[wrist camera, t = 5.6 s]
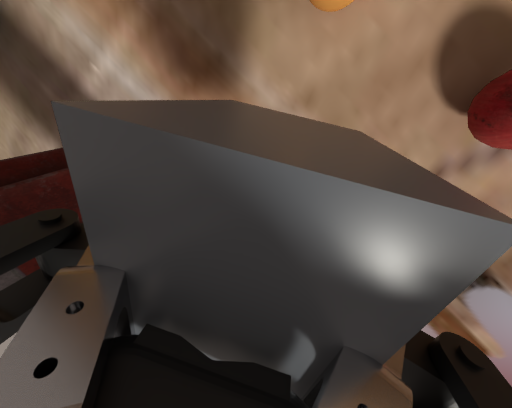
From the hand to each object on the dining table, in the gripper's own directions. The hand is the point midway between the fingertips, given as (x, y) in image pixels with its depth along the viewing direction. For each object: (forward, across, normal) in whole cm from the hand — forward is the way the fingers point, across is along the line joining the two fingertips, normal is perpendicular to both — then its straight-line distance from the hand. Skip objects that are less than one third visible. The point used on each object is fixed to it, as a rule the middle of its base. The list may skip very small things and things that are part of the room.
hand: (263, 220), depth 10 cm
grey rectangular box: (+2, 0, 0) cm, 2 cm away
